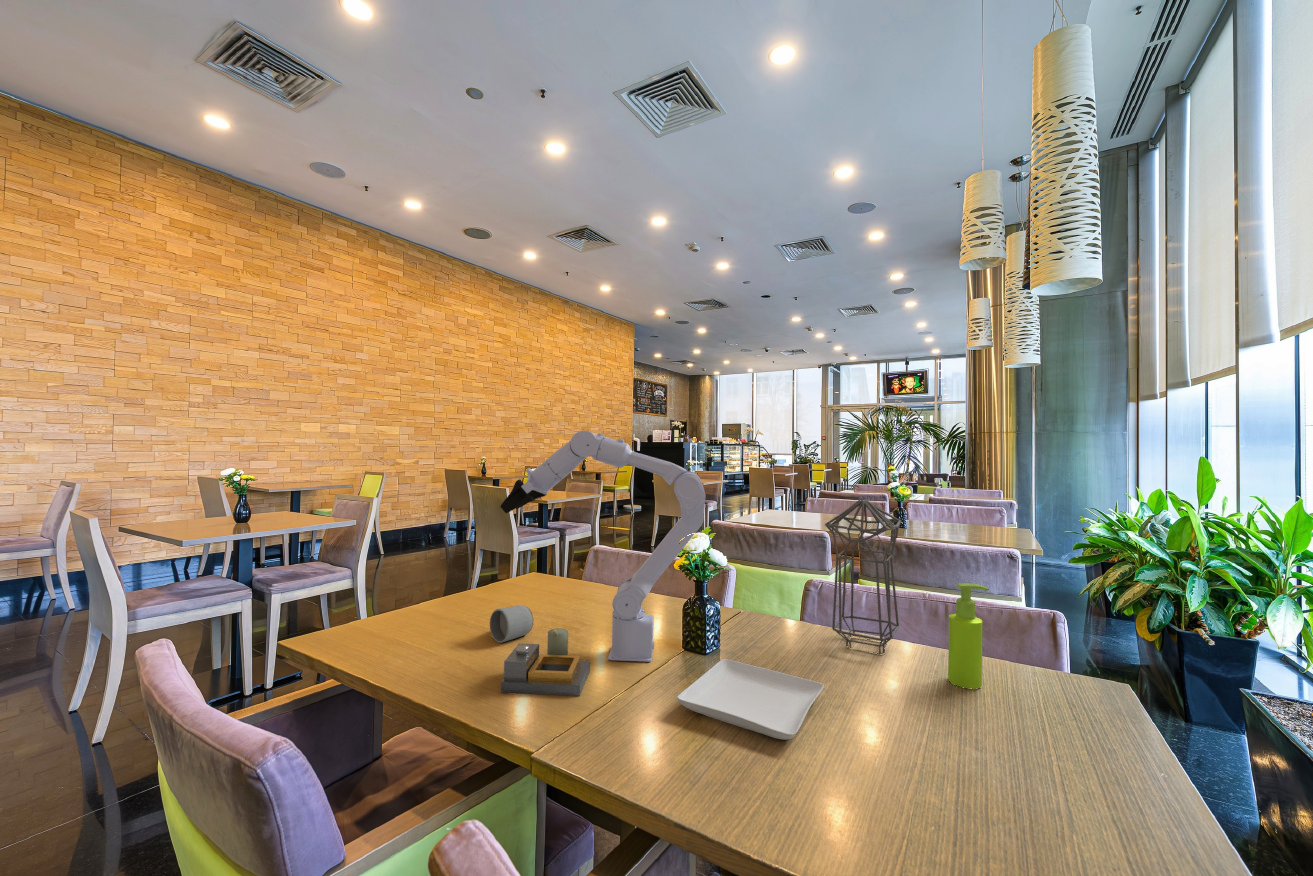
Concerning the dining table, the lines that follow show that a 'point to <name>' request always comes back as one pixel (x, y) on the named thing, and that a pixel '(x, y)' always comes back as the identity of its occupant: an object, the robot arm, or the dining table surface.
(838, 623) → the geometric lantern
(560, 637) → the spout can
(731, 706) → the salad plate
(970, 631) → the soap dispenser
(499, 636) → the grey hollow cylinder
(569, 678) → the assembly fixture
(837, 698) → the dining table surface
